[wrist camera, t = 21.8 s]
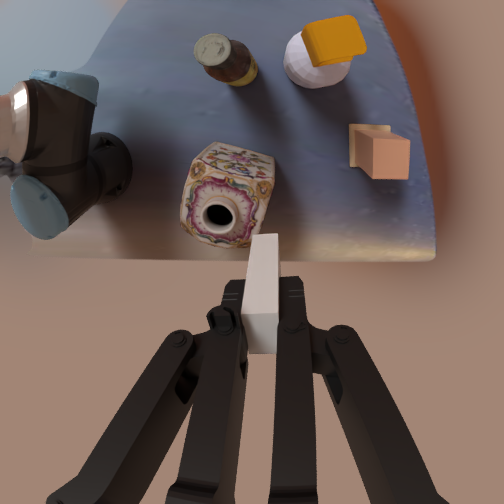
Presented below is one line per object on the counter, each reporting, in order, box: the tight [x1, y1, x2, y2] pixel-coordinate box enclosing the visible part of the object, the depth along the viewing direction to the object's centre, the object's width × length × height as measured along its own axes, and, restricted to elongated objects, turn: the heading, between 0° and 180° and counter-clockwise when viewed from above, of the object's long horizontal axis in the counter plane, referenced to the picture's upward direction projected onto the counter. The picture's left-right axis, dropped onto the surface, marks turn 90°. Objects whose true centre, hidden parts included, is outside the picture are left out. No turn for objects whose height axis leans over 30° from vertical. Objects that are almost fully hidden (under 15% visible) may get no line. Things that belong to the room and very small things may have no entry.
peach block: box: [354, 129, 410, 179], centre depth 39 cm, size 6×6×10 cm
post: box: [349, 124, 390, 167], centre depth 40 cm, size 8×8×7 cm
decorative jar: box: [180, 142, 275, 249], centre depth 42 cm, size 12×12×18 cm
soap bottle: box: [283, 15, 367, 89], centre depth 27 cm, size 9×9×25 cm
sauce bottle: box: [194, 33, 258, 86], centre depth 30 cm, size 7×6×20 cm
